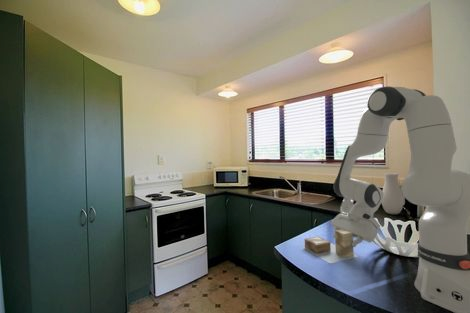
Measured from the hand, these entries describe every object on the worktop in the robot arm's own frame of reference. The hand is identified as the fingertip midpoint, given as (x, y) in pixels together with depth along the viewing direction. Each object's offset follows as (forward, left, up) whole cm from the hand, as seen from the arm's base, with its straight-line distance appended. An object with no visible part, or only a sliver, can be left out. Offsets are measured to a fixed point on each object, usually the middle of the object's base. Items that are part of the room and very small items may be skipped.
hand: (343, 241), depth 95 cm
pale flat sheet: (+5, +4, -7) cm, 9 cm away
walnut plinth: (+9, +7, -7) cm, 13 cm away
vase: (+38, -89, -7) cm, 97 cm away
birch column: (0, 0, -6) cm, 6 cm away
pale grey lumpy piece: (+46, -56, -7) cm, 73 cm away
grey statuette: (+25, -30, -7) cm, 40 cm away
